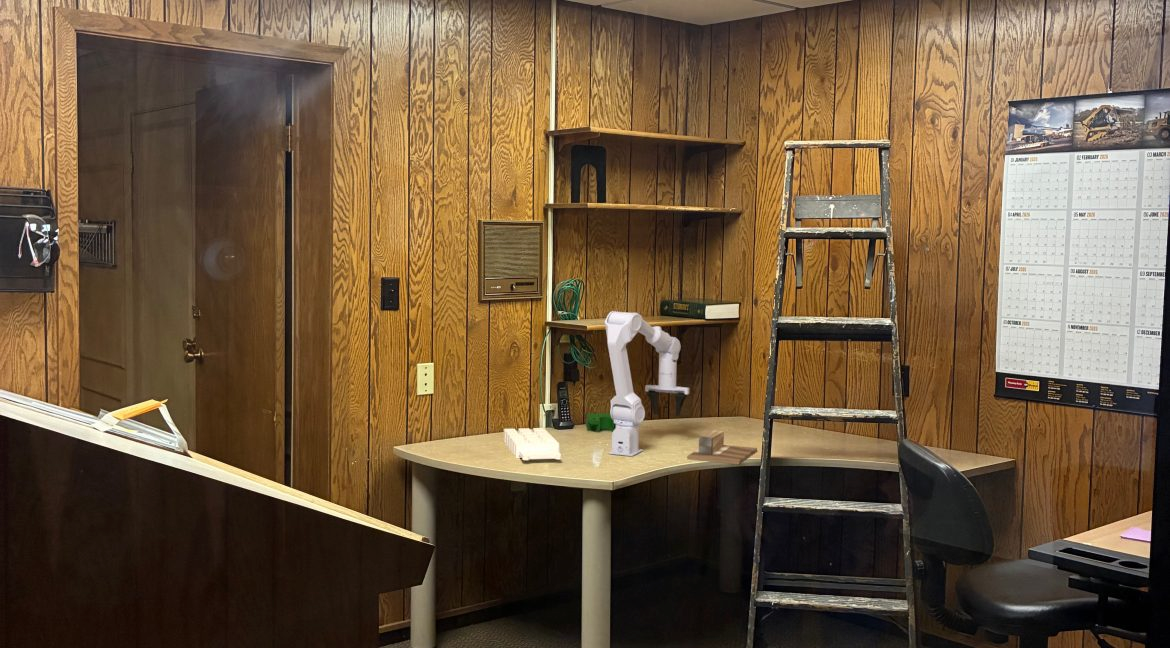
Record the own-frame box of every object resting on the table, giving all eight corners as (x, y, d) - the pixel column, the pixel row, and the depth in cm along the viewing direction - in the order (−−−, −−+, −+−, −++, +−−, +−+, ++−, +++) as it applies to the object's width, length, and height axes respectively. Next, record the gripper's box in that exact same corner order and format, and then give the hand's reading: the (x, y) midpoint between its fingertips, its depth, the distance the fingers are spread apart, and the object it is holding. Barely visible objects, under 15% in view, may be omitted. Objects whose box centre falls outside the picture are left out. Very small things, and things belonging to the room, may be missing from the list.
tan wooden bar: (723, 446, 324) (723, 431, 324) (711, 454, 312) (711, 438, 311) (711, 445, 326) (711, 429, 325) (698, 453, 313) (698, 437, 313)
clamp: (594, 444, 353) (586, 422, 349) (590, 437, 358) (582, 415, 355) (626, 431, 354) (618, 409, 351) (621, 424, 360) (613, 402, 356)
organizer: (543, 427, 334) (564, 448, 300) (543, 442, 335) (564, 465, 301) (503, 428, 331) (520, 450, 297) (503, 443, 332) (520, 466, 298)
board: (738, 464, 303) (738, 460, 303) (687, 459, 309) (687, 455, 309) (756, 451, 323) (757, 447, 323) (708, 446, 330) (708, 443, 329)
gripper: (692, 373, 333) (691, 414, 334) (650, 370, 339) (649, 411, 340) (685, 375, 327) (685, 417, 328) (643, 372, 332) (642, 414, 334)
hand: (666, 414), depth 333 cm, fingers open, 7 cm apart
